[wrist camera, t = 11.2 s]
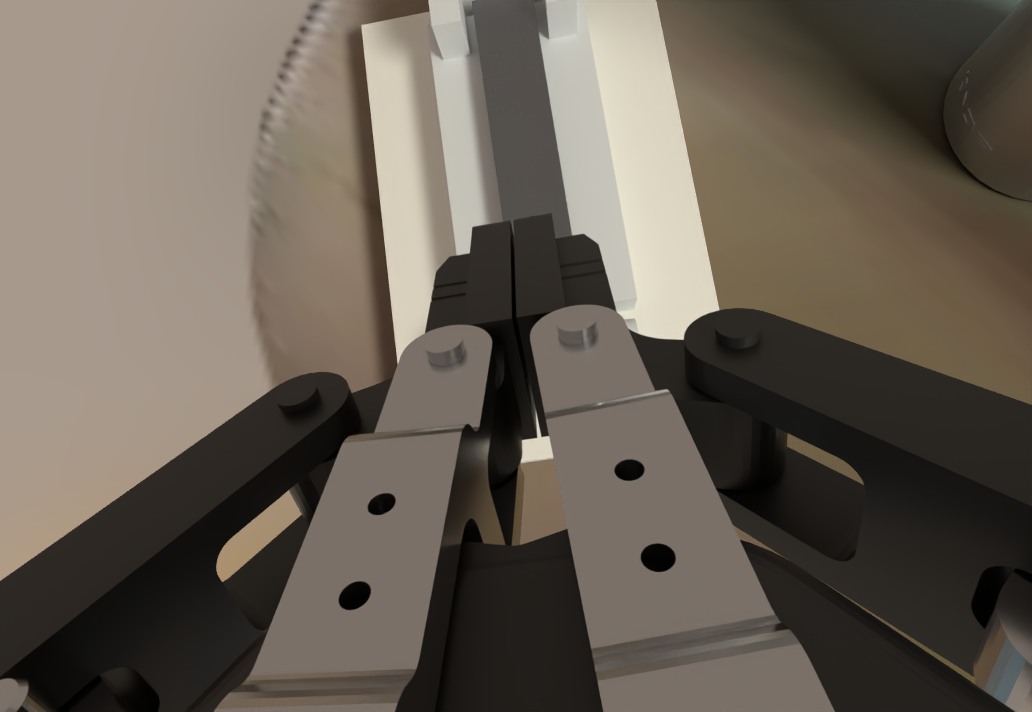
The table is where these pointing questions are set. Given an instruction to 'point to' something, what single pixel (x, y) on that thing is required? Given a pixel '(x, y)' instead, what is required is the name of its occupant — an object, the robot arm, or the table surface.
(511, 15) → the bar
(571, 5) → the stand
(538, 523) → the table surface
